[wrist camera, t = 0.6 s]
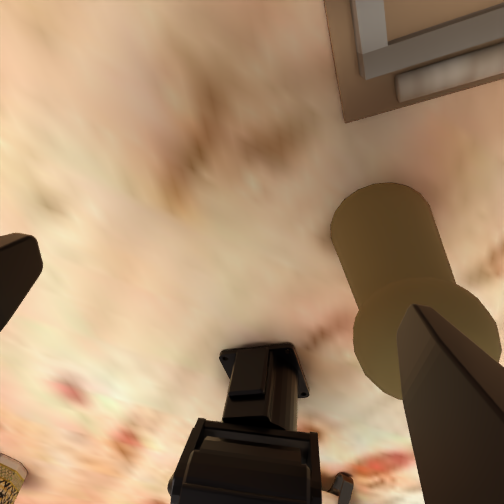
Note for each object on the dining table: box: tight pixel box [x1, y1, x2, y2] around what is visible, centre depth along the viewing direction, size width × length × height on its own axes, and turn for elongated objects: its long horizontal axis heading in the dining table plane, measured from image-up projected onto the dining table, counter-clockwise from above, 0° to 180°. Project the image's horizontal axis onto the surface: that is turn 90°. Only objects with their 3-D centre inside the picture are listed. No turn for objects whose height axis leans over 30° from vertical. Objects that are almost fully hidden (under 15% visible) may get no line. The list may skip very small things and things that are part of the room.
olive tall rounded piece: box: [331, 183, 502, 400], centre depth 17 cm, size 6×6×11 cm
